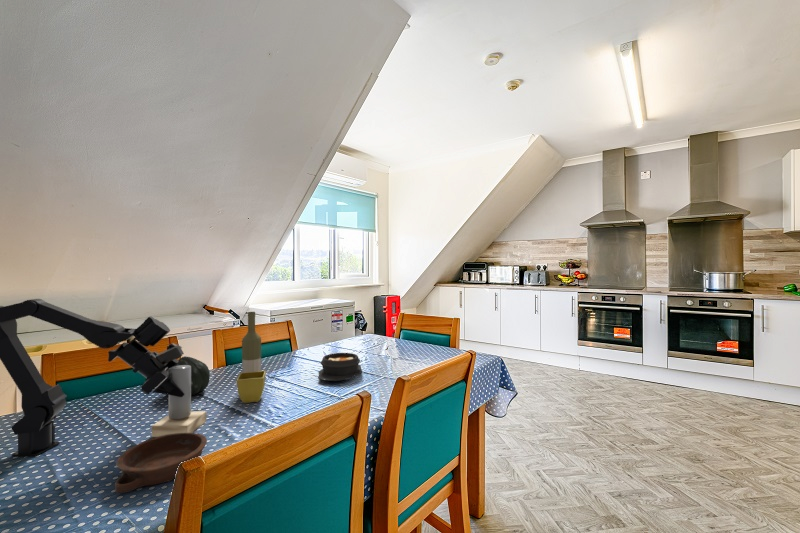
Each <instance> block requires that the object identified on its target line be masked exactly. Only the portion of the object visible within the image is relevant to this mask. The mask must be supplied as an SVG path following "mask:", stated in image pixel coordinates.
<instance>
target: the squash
mask: <svg viewBox="0 0 800 533" xmlns="http://www.w3.org/2000/svg"><path fill="white" fill-rule="evenodd" d="M177 360H178V361H179V362H178V363H177V364H175V365H174V366H177V365H178V366H180V365H190V366H191V395H193V396H194V395H197V394H198V393H202V392H203V391H204V390H206V388H208V385H209V383H210V377H211V374H210V369H209V367H208V366H207V364H206V363H205V362H203V361H201V360H198V359H197V358H195V357H190V356H187V355H186V356H181V357H180V358H178V359H177ZM174 366H173V367H174Z"/></svg>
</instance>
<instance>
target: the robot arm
mask: <svg viewBox="0 0 800 533" xmlns="http://www.w3.org/2000/svg"><path fill="white" fill-rule="evenodd" d="M28 316H30V317H32V318H35V319H37V320H41V321H42V322H43V321H44V322H46V323H50V324H52V325H55V326H56V327H60V328H63V329H66V330H68V331H71V332H74V333H77V334H78V335H80V336H82V337H83V338H84V339H86V340H87V341H88V342H89V343H91V344H93V345H95V346H96V347H98V348H101V349H111V348H114V347H115V346H117V345H119V344H120V345H119V346H118V347H117V348H116V349H111V350H109V351H108V352H107V353H108V357H107V358H108V360H107V361H108V362H112V361H114V360H115V359H116V358H119V359H120V360H121V361H123V362H124V363H125V364H127V365H128V366H130V367H131V368H132V369H133V370H132V372H133V373H135V374H136V373H139V374H140V375H141V376H143V377H144V378H145V379H144V383H143V384H142V385H141V390H140V391H141V392H142V393H143V394H144V395H146V396H148V395H149V394H151V393H152V394H154V393H155V394H160V395H168V396H169V395H172V396H178V397H183V396H184V392H183V391H182V390H181V389H180V388H179V387H178V386H177V385H176V384H175V383H174V382H173V381H172V373H171V374H170V375H169V368H171V367H173V366H174V365H175V364H177V363H178V362H179V361H178V360H179V359H180V358H182V357H183V355H184V351H183V350H182V348H183V347H182V346H181V345H179V344H176V343H174V342H173V343H170V344H168V345H167V346H166V350H163V351H162V352H157V351H156V350H155V351H151V350H149V349H148V348H147V347H155V346H156V345H157V344H158V343H159V342H160V341H161V340H163V338H164V337H166V335H167V334H169V333H170V331H171V329H170V328H169V326H168V325H167V324H165V323H164V322H163V321H160V320H158V319H156V318H154V317H153V316H148V317H147V318H145V319H144V321H143V323H141V324H140V325H139V326H138V327H137V328H130V327H129V328H128V327H124V326H123V325H121V324H118V323H115V322H109V321H103V320H102V321H101V320H95V319H92V318H89V317H86V316H83V315H80V314H78V313H75V312H73V311H70V310H67V309H65V308H62V307H59V306H57V305H54V304H52V303H49V302H47V301H45V300H44V299H41V298H34V299H33V298H32V299H27V300H24V301H21V302H19V303H14V304H10V305H5V306H4V305H0V361H1V363H2V364H3V366H4V367H5V370H6V371H7V372H8V375H9V376H10V377H11V379H12V380H13V382H14V384H15V385H16V387H17V389H18V390H19V392H20V394H21V404H20V406H21V409H22V412H23V416H22V417H21V418H20V419H19V420H18V421H17V422H15V423H14V424H13V425H11V427H10V428H11V430H12V431H13V432H12V433H14V435H17V450H16V451H14V452H13V453H11V456H12V457H36V456H39V455H41V454H43V453H45V452H46V451H48V450H50V449H52V448H54V447H56V446H58V445H60V443H61V442H60V441H56V430H55V429H56V426H55V423H54V420H55V419H57V416H58V414H60V412H62V411H63V410H64V408H65V406H66V404H67V399H66V398H67V397H68V395H67V394H65V393H64V391H63V389H62V387H61V385H60V384H59V383H58V384H56V385H54V386H52V385H50V384H49V383H47V382H46V381H45V380H44V378H43V377H42V375H41V373H40V372H39V370H38V368H37V366H36V365H35V363H34V361H33V360H32V358H31V357H30V354H29V353H28V352H27V350H26V348H25V347H24V344H22V341H21V340H20V338H19V337H18V336H19V335H18V322H17V320H18V319H21V318H25V317H28ZM133 337H134V338H133ZM131 338H132V339H131ZM129 339H131V341H129V342H126V341H128V340H129ZM177 366H178V365H177Z"/></svg>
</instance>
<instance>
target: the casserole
mask: <svg viewBox="0 0 800 533" xmlns="http://www.w3.org/2000/svg"><path fill="white" fill-rule="evenodd" d="M360 362H361V359H360V358H359V356H358V354H356V353H351V352H334V353H329V354H326V355H324V356H323V357H322V360H321V361H320V365H321V367H322V369H320V370H319V371H318V377H317V379H318V380H321V381H325V382H326V381H327V382H341V381H344V380H347V379H350V378H353V377H356V376H359V375H361V374H362V373H363V370H362V366H361V365H360Z"/></svg>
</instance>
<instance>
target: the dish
mask: <svg viewBox="0 0 800 533" xmlns="http://www.w3.org/2000/svg"><path fill="white" fill-rule="evenodd" d="M207 443H208V440H207V437H206V436H205V435H204V434H201V433H196V432H192V433H174V434H167V435H163V436H159V437H152V438H150V439H149V438H148V439H147V440H146V439H145V440H143V441H142V442H139V443H138V444H136V445H134V446H132V447H130V448H128V449H126V451H124V452H123V453H122V454H121V455H119V457H118V459H117V460H116V468H118V469H119V470H121V473H122V474H121V475H120V476H119V477H118V478H117V479H116V480H115V483H114V491H115V493H117V494H122V493H123V494H124V493H128V492H132V491H134V490H136V489H138V488H141V487H147V486H148V487H149V486H155V485H160V484H164V483H166V482H169V481H173V480H174V478H175V474H176V471H177V468H178V466H179V464H180V463H181V462H184V461H187V460H190V459H192V458H195V457H198V456H202V453H203V451H204V448H205V447H206V445H207ZM175 479H176V478H175Z"/></svg>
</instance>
